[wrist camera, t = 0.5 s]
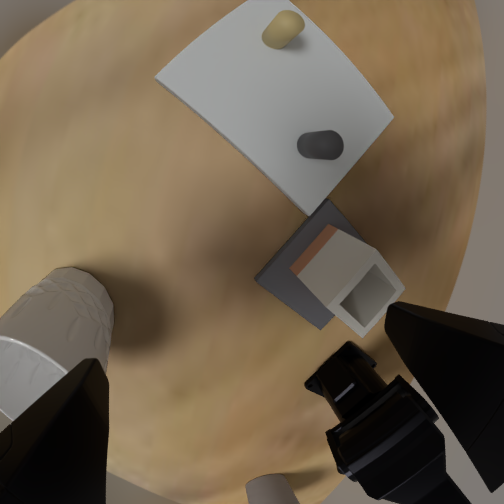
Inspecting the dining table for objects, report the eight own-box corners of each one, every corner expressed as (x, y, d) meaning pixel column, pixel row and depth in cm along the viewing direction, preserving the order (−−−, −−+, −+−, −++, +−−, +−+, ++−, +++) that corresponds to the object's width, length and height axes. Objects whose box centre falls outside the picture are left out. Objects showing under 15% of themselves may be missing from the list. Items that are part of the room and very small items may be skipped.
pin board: (386, 117, 20) (420, 115, 16) (303, 213, 21) (329, 226, 17) (266, -9, 14) (284, -34, 11) (155, 80, 15) (149, 62, 12)
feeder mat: (377, 259, 24) (381, 261, 23) (317, 326, 25) (320, 330, 24) (325, 198, 21) (329, 199, 20) (254, 278, 21) (256, 281, 21)
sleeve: (359, 257, 23) (405, 288, 17) (323, 297, 23) (362, 338, 17) (328, 223, 21) (376, 249, 15) (289, 268, 21) (326, 307, 16)
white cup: (50, 238, 17) (-26, 305, 8) (139, 293, 20) (119, 392, 11) (25, 317, 18) (-25, 397, 9) (102, 361, 21) (82, 457, 12)
